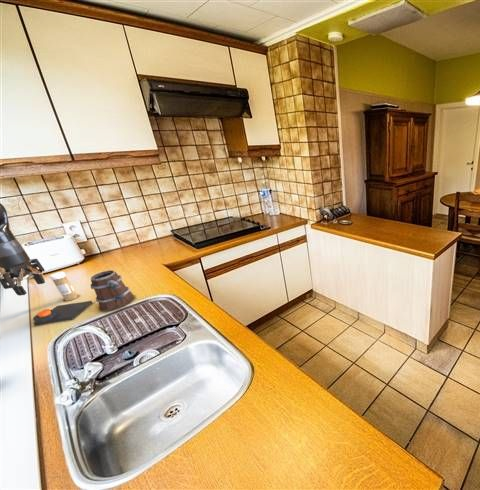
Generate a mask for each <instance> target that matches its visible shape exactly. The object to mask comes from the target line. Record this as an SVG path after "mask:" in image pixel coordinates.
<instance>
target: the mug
mask: <svg viewBox="0 0 480 490" xmlns="http://www.w3.org/2000/svg"><path fill="white" fill-rule="evenodd" d="M122 280H123V278H122V275H121V274H118V273H117V271H115V270H105V271H104V270H103V271H101V272H98V273H95V274H94V275H92V276H91V277H90V282H91V283H90V289H92V290H94V293H95V295H96V297H95V302H96V303H98V308H99V310H100V311H103V312H110V311H113V310H117V309H120V308H122V307H125V306H126V305H129V304H130V303H132V301H133V300H134V299H135V296H134V295H133V292H132V291H131V290H130V287H129V286H126V285H125V283H124V282H123V281H122Z"/></svg>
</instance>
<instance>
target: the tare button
mask: <svg viewBox="0 0 480 490" xmlns="http://www.w3.org/2000/svg"><path fill="white" fill-rule="evenodd" d="M50 310H51V309H50V308H46V309H42V310H40V311H38V312H36V315H38V317H39V318H40V317H45V316H47V315H49V314H51V313H52V312H51V311H50Z"/></svg>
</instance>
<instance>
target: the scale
mask: <svg viewBox="0 0 480 490" xmlns="http://www.w3.org/2000/svg"><path fill="white" fill-rule="evenodd" d="M92 304H93V301H92V300H86V301H79V302H73V303H67V304H61V305H60V304H58V305H56V306H55V307H54V308H52V309H50V311H51V312H52V313H51V314H49V315H47V316H45V317H40V318H39V317H38V315H37V314H35V315H34V316H33V317H32V320H33V325H34V326H41V325H47V324H55V323H61V322H66V321H73V320H75V318H77V317H78V316H79V315H80V314H81V313H83V312H84V311H85V310H86V309H87V308H89V307H90V306H91V305H92Z"/></svg>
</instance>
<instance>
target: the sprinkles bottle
mask: <svg viewBox="0 0 480 490" xmlns="http://www.w3.org/2000/svg"><path fill="white" fill-rule="evenodd" d="M49 278H50V280H52V282H53V283H54V285H55V287H56V289H57V291H58V292H59V294H60V295H61V296H62V298H63V299H64V301H66V302H68V301H73V300H75V299H76V298H78V296H79V295H78V294H77V293H76V290H75V289H74V287H73V286H72V284H71V283H70V281H69V279H68V277H67V275H66V273H65V271H58V272H54V273H52V274H50V275H49Z"/></svg>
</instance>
